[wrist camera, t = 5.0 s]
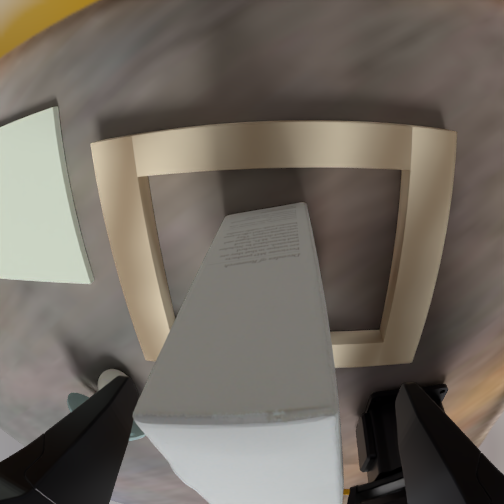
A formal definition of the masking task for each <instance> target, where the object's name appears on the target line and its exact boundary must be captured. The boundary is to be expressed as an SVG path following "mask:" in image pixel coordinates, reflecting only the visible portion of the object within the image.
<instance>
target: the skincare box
mask: <svg viewBox="0 0 504 504" xmlns="http://www.w3.org/2000/svg"><path fill="white" fill-rule="evenodd" d="M132 417H133V419H134V421H135V423H136V424H137V425H138V427H139V428H140V429H141V430H142V431H143V433H144V434H145V435H146V436H147V437H148V438H149V440H150V441H151V442H152V443H153V445H154V446H155V447H156V448H157V449H158V450H159V452H160V453H161V454H162V455H163V456H164V457H165V458H166V460H167V461H168V462H169V464H170V466H171V468H172V470H173V471H174V473H175V474H176V475H177V476H178V477H179V478H180V479H181V480H182V481H183V482H184V483H185V484H186V485H188V486H189V487H191V488H192V489H194V490H196V491H197V492H198V493H199V494H200V495H201V496H202V497H203V498H204V499H205V500H206V501H207V502H208V503H209V504H342V500H343V490H344V478H343V455H342V439H341V424H340V412H339V401H338V391H337V381H336V372H335V364H334V357H333V349H332V342H331V334H330V327H329V321H328V314H327V308H326V302H325V296H324V290H323V284H322V279H321V273H320V267H319V262H318V257H317V252H316V247H315V242H314V237H313V232H312V227H311V222H310V217H309V212H308V208H307V204H306V203H304V202H299V203H294V204H289V205H284V206H278V207H272V208H267V209H260V210H254V211H249V212H243V213H237V214H232V215H227V216H226V217H225V218H224V220H223V222H222V224H221V226H220V228H219V230H218V232H217V234H216V236H215V238H214V240H213V242H212V244H211V246H210V248H209V250H208V252H207V254H206V256H205V258H204V260H203V262H202V265H201V267H200V269H199V271H198V273H197V275H196V277H195V279H194V281H193V283H192V285H191V287H190V289H189V291H188V294H187V296H186V298H185V300H184V302H183V304H182V306H181V308H180V310H179V313H178V315H177V317H176V319H175V321H174V323H173V325H172V327H171V330H170V332H169V334H168V336H167V339H166V341H165V343H164V345H163V347H162V349H161V351H160V353H159V355H158V357H157V360H156V362H155V365H154V367H153V369H152V371H151V373H150V375H149V378H148V380H147V382H146V384H145V387H144V389H143V391H142V393H141V395H140V397H139V400H138V402H137V405H136V407H135V409H134V412H133V416H132Z"/></svg>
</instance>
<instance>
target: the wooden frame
mask: <svg viewBox="0 0 504 504" xmlns="http://www.w3.org/2000/svg"><path fill="white" fill-rule="evenodd" d="M456 143H457V132H455V131H451V130H447V129H441V128H433V127H424V126H415V125H405V124H393V123H379V122H362V121H333V120H286V121H257V122H239V123H225V124H213V125H202V126H192V127H183V128H175V129H167V130H159V131H152V132H145V133H139V134H133V135H127V136H121V137H115V138H110V139H104V140H100V141H97V142H94V143H91V150H92V157H93V163H94V169H95V175H96V181H97V186H98V191H99V196H100V201H101V206H102V211H103V216H104V220H105V225H106V229H107V233H108V237H109V242H110V246H111V250H112V254H113V258H114V261H115V265H116V269H117V272H118V276H119V280H120V283H121V287H122V290H123V293H124V297H125V300H126V303H127V307H128V310H129V313H130V316H131V319H132V322H133V325H134V328H135V331H136V334H137V337H138V340H139V343H140V346H141V348H142V351H143V354H144V357H145V359H146V360H147V361H156V360H157V357H158V355H159V353H160V351H161V349H162V347H163V345H164V343H165V341H166V339H167V336H168V334H169V332H170V330H171V327H172V325H173V323H174V321H175V315H174V310H173V306H172V302H171V297H170V293H169V288H168V284H167V279H166V275H165V270H164V265H163V260H162V255H161V250H160V245H159V239H158V234H157V229H156V223H155V217H154V211H153V206H152V199H151V193H150V187H149V180H148V176H152V175H162V174H173V173H186V172H200V171H215V170H234V169H258V168H307V167H326V168H375V169H398V170H402V174H401V188H400V200H399V210H398V220H397V229H396V237H395V245H394V252H393V259H392V265H391V272H390V278H389V284H388V289H387V295H386V300H385V305H384V311H383V315H382V320H381V325H380V330H362V331H333V332H330V334H331V342H332V349H333V357H334V364H335V368H347V367H366V366H380V365H393V364H403V363H412V361H413V358H414V355H415V352H416V349H417V346H418V343H419V340H420V337H421V334H422V331H423V327H424V324H425V321H426V317H427V314H428V310H429V307H430V303H431V299H432V295H433V291H434V287H435V283H436V279H437V275H438V271H439V266H440V262H441V257H442V252H443V247H444V242H445V236H446V230H447V224H448V218H449V212H450V205H451V197H452V189H453V180H454V170H455V158H456Z"/></svg>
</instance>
